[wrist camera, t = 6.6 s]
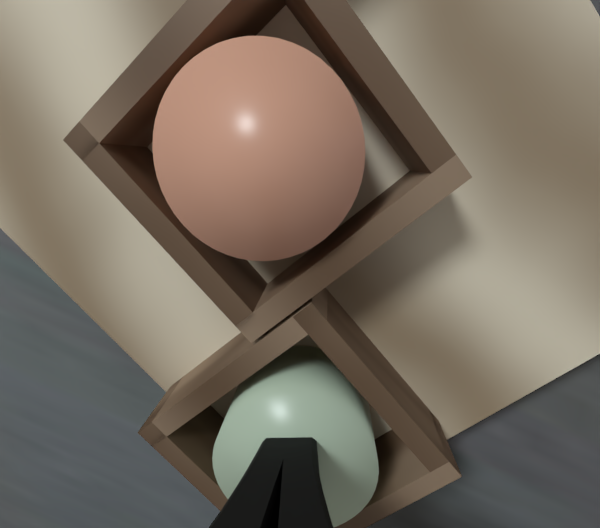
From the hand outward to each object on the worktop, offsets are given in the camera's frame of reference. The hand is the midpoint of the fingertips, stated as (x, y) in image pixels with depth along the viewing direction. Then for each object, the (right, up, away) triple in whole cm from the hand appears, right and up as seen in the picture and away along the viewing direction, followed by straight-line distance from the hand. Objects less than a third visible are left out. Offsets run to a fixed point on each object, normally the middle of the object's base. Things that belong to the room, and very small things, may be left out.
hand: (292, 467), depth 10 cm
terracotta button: (0, +8, 0) cm, 8 cm away
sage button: (0, +1, +2) cm, 2 cm away
